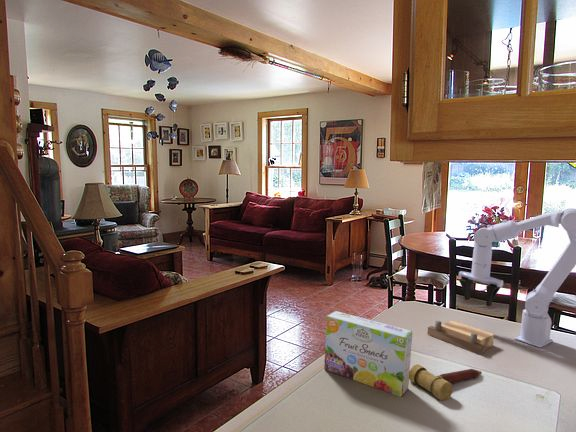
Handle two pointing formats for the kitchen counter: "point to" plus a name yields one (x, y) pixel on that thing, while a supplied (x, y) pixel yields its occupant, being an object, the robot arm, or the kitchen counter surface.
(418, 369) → the gavel
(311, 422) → the kitchen counter surface
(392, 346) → the snack box
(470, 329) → the wooden block
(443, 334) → the bar
